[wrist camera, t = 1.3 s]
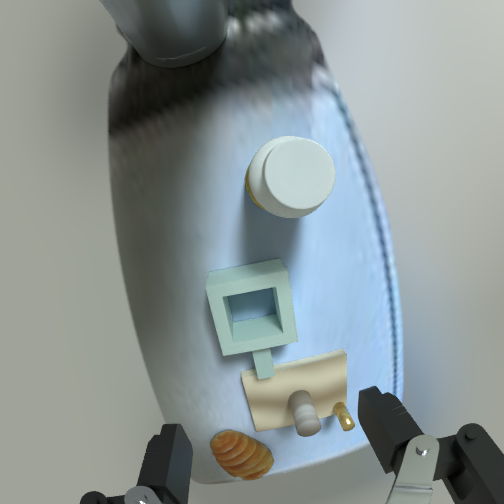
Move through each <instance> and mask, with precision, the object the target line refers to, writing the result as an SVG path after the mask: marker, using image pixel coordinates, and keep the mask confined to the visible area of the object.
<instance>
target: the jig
mask: <svg viewBox="0 0 504 504" xmlns="http://www.w3.org/2000/svg"><path fill="white" fill-rule="evenodd" d="M273 367H274V372H275V376H274V377H269V378H264V379H258V375H257V371H256V369H250V370H245V371H241V374H242V381H243V384H244V388H245V392H246V395H247V399H248V403H249V406H250V410H251V413H252V417H253V420H254V424H255V427H256V431H257V432H259V431H265V430H271V429H276V428H281V427H286V426H291V425H295V426H296V430H297V433H298V435H300V436H303V437H308V436H312V435H314V434H316V433H317V432H319V431H320V429H321V423H320V421H319V419H321V418H324V417H328V416H332V415H335V414H336V413H335V410H334V408H333V407H334V405H335V404H336V403H338V402H344V404H345V406H346V404H347V354H346V353H345V351H344V350H343V349H339V350H336V351H332V352H328V353H324V354H321V355H317V356H312V357H308V358H304V359H300V360H295V361H291V362H286V363H282V364H277V365H273Z"/></svg>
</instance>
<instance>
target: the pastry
mask: <svg viewBox="0 0 504 504" xmlns="http://www.w3.org/2000/svg"><path fill="white" fill-rule="evenodd" d="M210 447H211V449H212V451H213V455H214V456H215V457H216V460H217V462H218V463H219V464H220V466H221V467H222V468H223V469H224V470H225V471H227V472H228V473H229V474H230V475H232V476H234V477H237V476H239V477H241V478H242V479H243V480H255V479H258V478H260V477H262V476H263V475H264V474H266V473H267V472H268V471H269V470H270V469H271V467H272V465H273V463H274V459H273V457H272V454H271V452H270V450H269V449H268V448H267V447H266V446H265V445H264V444H262V443H260V442H259V441H257V440H255V439H253V438H251V437H249V436H247V435H245V434H243V433H241V432H236V431H233V430H226V431H223V432H220V433H218V434H216V435H215V436H214V438H213V439H212V441H211V443H210Z"/></svg>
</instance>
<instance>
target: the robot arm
mask: <svg viewBox="0 0 504 504" xmlns="http://www.w3.org/2000/svg"><path fill="white" fill-rule="evenodd" d="M100 2H101V3H102V4H103V6H104V7H105V8H106V10H107V11H108V12H109V14H110V15H111V16H112V18H113V19H114V21H115V22H116V23H117V25H118V26H119V27H120V29H121V30H122V32H123V33H124V34H125V36H126V37H127V39H128V40H129V41H130V43H131V44H132V45H133V47H134V48H135V49H136V51H137V52H138V54H139V55H140V56H141V58H142V59H144V60H145V61H146V62H148V63H150V64H152V65H155V66H159V67H164V68H176V67H183V66H187V65H190V64H194V63H196V62H198V61H200V60H203V59H205V58H206V57H208V56H209V55H210V54H212V53H213V52H214V51H215V50H216V49H217V48H218V47H219V46H220V45H221V44H222V42H223V41H224V39H225V37H226V34H227V29H228V11H227V6H228V1H227V0H100ZM358 419H359V422H360V425H361V426H362V428H363V430H364V432H365V434H366V436H367V438H368V440H369V442H370V444H371V446H372V448H373V450H374V451H375V454H376V456H377V458H378V460H379V461H380V463H381V465H382V467H383V469H384V471H385V473H386V474H387V473H389V472H392V471H394V473H395V475H396V477H395V480H394V483H393V486H392V488H391V491H390V494H389V496H388V499H387V501H386V504H429V503H430V500H431V496H432V489H431V485H432V481H435V480H439V479H442V480H443V482H444V484H445V486H446V488H447V490H448V491H449V493H450V495H451V497H452V499H453V501H454V503H455V504H504V454H503V453H502V452H501V450H500V449H499V448H498V446H497V445H496V444H495V443H494V441H493V440H492V439H491V437H490V436H489V435H488V433H487V432H486V431H485V430H484V429H483V428H482V426H480V425H478V424H474V423H471V424H466V425H464V426H463V427H461V428H460V429H459V431H458V433H457V434H456V435H452V436H448V437H444V438H434V437H433V436H430V435H425V434H424V433H423V432H422V431H421V429H420V428H419V427H418V425H417V424H416V422H415V421H414V420H413V418H412V417H411V416H410V414H409V413H408V412H407V410H406V409H405V407H404V406H403V405H402V403H401V402H400V401H399V399H398V398H397V397H396V396H394V395H392V394H391V393H389V392H387V393H385V394H382V393H381V392H380V390H379V389H378V388H377V387H376V386H372V387H370V388H367V389H364V390H361V391H359V399H358ZM192 457H193V450H192V445H191V443H190V441H189V439H188V437H187V435H186V433H185V431H184V429H183V427H182V426H181V424H164V425H163V426H162V429H161V433H160V435H154V436H153V438H152V439H151V440H150V441H149V442H148V445H147V449H146V453H145V456H144V460H143V463H142V467H141V471H140V475H139V478H138V482H137V485H136V487H133V488H131V489H130V490H128V491H127V493H126V494H125V495H122V496H114V497H105V496H104V495H103V494H102V493H100V492H96V491H92V492H88V493H86V494H85V495H84V496H83V497H82V498H81V501H80V504H187V503H188V493H189V484H190V475H191V466H192Z"/></svg>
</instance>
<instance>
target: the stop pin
mask: <svg viewBox="0 0 504 504" xmlns="http://www.w3.org/2000/svg"><path fill="white" fill-rule="evenodd" d="M333 408H334V410H335V413H336V415H337V417H338V419H339V422H340V424H341V426H342V428H343V430H344V431H350V430H351V429H353V428H354V427H355V424H354V422H353V420H352V418H351V416H350V414H349V412H348V410H347V408H346V406H345V404H344V402H338V403H336V404H335V405H334V407H333Z"/></svg>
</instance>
